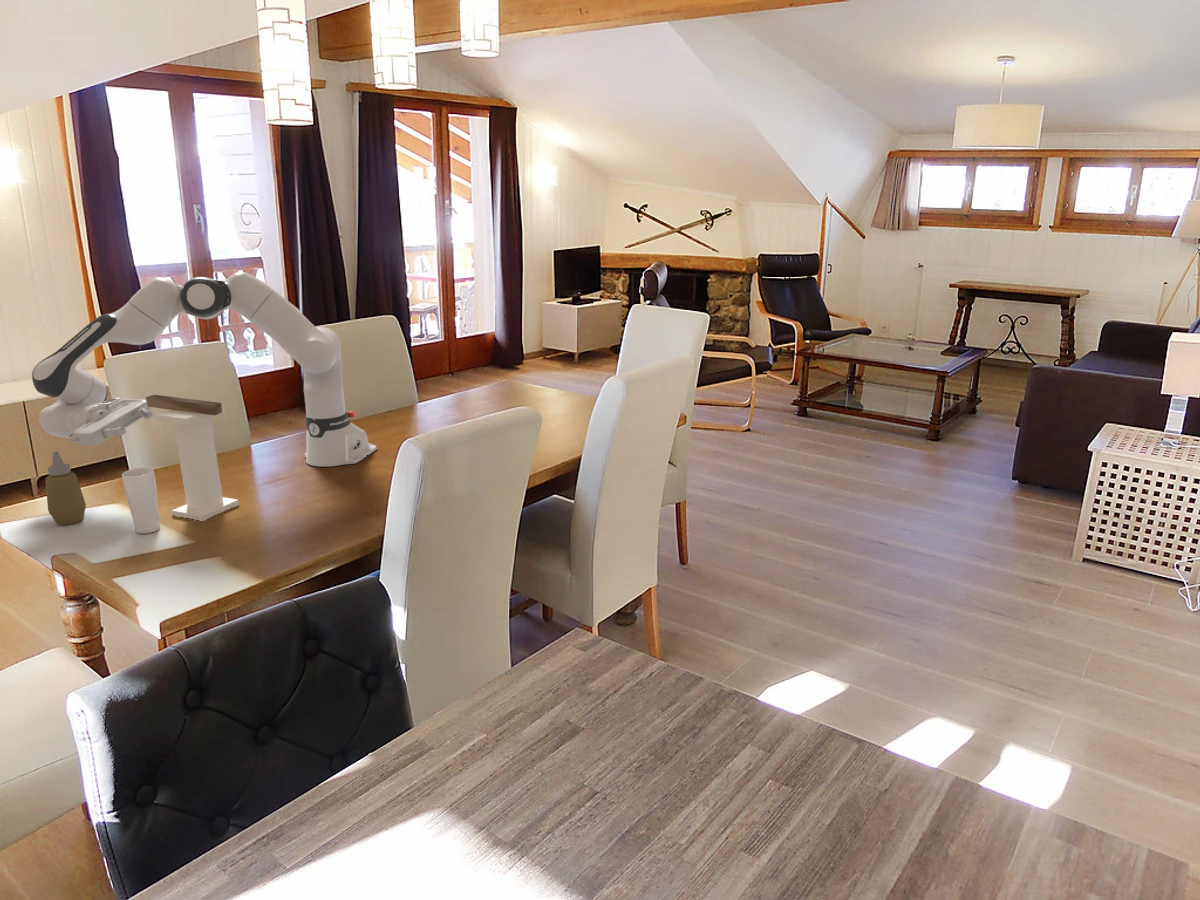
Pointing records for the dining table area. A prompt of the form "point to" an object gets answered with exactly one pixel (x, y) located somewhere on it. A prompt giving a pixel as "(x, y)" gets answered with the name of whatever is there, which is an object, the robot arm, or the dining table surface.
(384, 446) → the dining table surface
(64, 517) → the squeeze bottle
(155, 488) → the drinking glass
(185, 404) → the walnut bar
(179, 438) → the shelf stand
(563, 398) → the dining table surface
